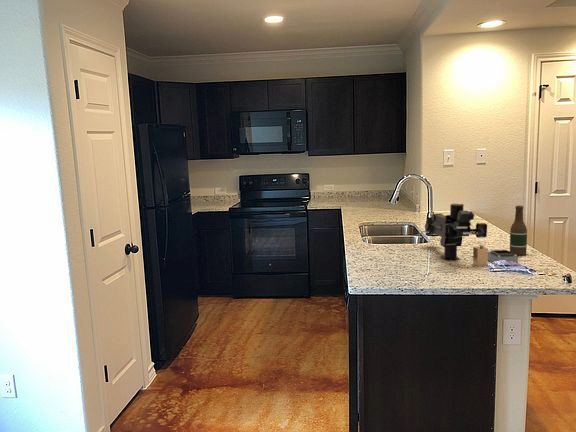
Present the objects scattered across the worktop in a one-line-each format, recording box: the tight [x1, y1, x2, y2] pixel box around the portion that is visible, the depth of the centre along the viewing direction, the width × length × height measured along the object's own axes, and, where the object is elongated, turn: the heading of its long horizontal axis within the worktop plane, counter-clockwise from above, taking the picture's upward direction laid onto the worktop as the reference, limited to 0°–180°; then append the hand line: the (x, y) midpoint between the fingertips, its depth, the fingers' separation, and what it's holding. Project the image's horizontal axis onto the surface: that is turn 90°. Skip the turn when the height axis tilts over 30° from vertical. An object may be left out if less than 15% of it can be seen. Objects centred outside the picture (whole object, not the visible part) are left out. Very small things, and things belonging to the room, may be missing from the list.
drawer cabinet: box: [487, 249, 519, 264], centre depth 216 cm, size 11×9×5 cm
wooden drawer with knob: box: [472, 244, 489, 267], centre depth 214 cm, size 5×5×9 cm
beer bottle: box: [509, 205, 528, 257], centre depth 229 cm, size 8×8×24 cm
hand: (473, 234), depth 201 cm, fingers open, 9 cm apart
